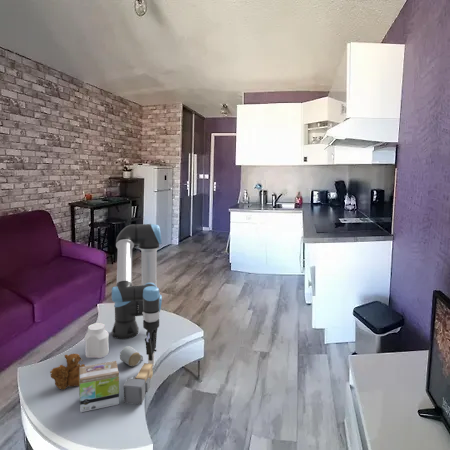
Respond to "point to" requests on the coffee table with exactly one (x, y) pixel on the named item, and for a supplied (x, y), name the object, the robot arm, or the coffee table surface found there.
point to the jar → (96, 341)
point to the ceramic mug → (130, 356)
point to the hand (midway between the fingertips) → (151, 365)
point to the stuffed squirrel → (67, 372)
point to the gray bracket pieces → (135, 390)
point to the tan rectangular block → (145, 372)
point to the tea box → (98, 386)
